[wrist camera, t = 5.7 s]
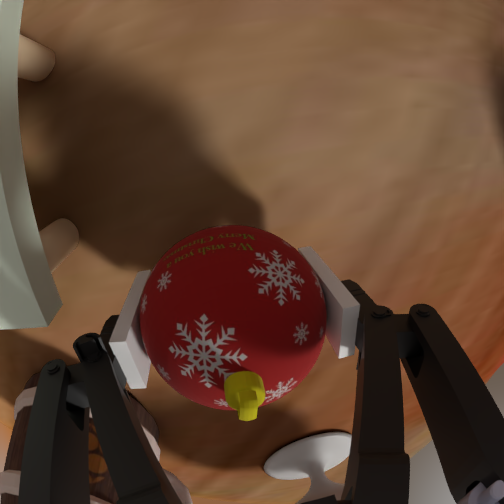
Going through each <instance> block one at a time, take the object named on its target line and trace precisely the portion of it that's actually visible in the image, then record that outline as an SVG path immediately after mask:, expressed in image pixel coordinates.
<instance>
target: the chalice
mask: <svg viewBox="0 0 504 504" xmlns="http://www.w3.org/2000/svg"><path fill="white" fill-rule="evenodd" d="M351 438H352V435H351V434H349V433H345V432H328V433H323V434H318V435H314V436H311V437H307V438H304V439H301V440H299V441H296V442H293V443H291V444H289V445H287V446H285V447H283V448H282V449H280V450H278V451H277V452H275V453H274V454H273V455H272V456H270V457H269V458H268V460H267V461H266V462H265V465H264V471H265V473H267V474H268V475H269V476H271V477H274V478H277V479H284V480H292V479H301V478H306V477H310V479H311V486H310V489H309V491H308V492H307V494H306V495H305V496H304V497H303V498H302V499H301V500H299V501H298V502H297V503H296V504H301V503H304V502H308V501H312V500H316V499H320V498H323V497H327V496H331V495H334V494H335V497H336V500H341V496H342V492H343V489H344V485H345V484H340V483H335V482H332V481H331V480H329V479H328V478H327V477H326V476H325V474H324V472H325V471H327V470H329V469H331V468H333V467H334V466H336V465H338V464H339V463H341V462H342V461H343V460H344V459H346V458H347V457H348V456H349V453H350V446H351Z"/></svg>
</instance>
